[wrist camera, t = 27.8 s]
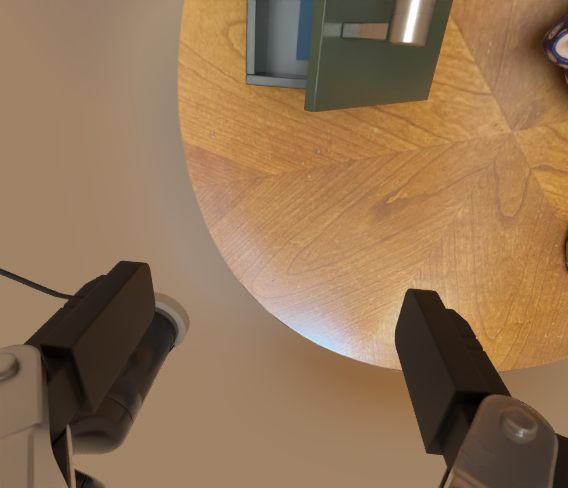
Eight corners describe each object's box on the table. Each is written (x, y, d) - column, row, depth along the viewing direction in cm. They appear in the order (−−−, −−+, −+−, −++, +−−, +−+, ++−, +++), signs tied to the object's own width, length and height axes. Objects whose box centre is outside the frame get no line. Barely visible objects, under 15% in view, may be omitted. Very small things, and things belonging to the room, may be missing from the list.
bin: (260, 79, 38) (245, 84, 30) (264, -57, 32) (247, -93, 24) (400, 90, 37) (422, 99, 29) (430, -46, 31) (466, -79, 24)
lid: (303, 110, 18) (387, 126, 15) (334, -226, 12) (476, -294, 10) (419, 98, 29) (480, 107, 26) (463, -81, 23) (546, -93, 21)
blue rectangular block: (304, -24, 32) (303, -32, 29) (351, -21, 32) (354, -28, 29) (297, 59, 36) (295, 59, 33) (339, 62, 35) (341, 63, 33)
